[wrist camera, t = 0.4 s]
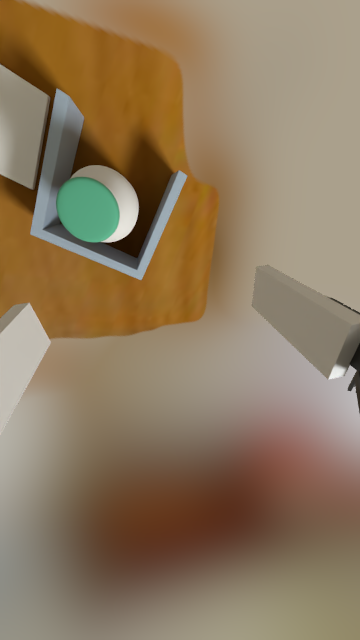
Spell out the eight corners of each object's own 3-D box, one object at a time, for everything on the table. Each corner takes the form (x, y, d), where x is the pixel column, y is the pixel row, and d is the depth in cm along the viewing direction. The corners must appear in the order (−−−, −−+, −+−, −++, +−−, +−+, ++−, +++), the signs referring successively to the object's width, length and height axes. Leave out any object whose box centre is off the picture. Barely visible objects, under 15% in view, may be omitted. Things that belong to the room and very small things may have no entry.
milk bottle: (92, 163, 30) (32, 122, 13) (144, 187, 32) (151, 179, 15) (83, 218, 33) (26, 243, 16) (131, 236, 36) (125, 274, 19)
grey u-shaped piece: (49, 227, 33) (30, 234, 27) (74, 111, 27) (56, 88, 21) (141, 267, 39) (141, 280, 33) (178, 179, 33) (187, 175, 27)
